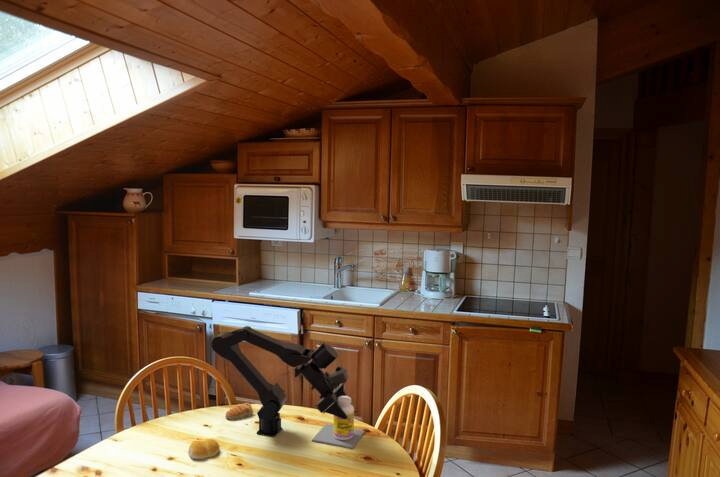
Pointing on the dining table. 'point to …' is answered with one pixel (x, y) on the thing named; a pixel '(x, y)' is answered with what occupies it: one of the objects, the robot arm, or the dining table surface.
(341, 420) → the supplement bottle
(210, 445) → the bread roll
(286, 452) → the dining table surface
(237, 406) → the pastry
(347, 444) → the rubber mat
